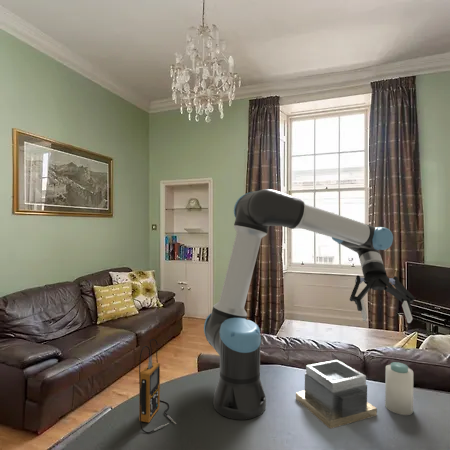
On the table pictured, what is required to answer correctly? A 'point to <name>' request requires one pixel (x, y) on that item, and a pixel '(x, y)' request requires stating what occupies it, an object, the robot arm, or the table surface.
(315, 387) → the grey open box
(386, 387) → the cream bottle
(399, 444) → the table surface
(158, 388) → the multimeter
